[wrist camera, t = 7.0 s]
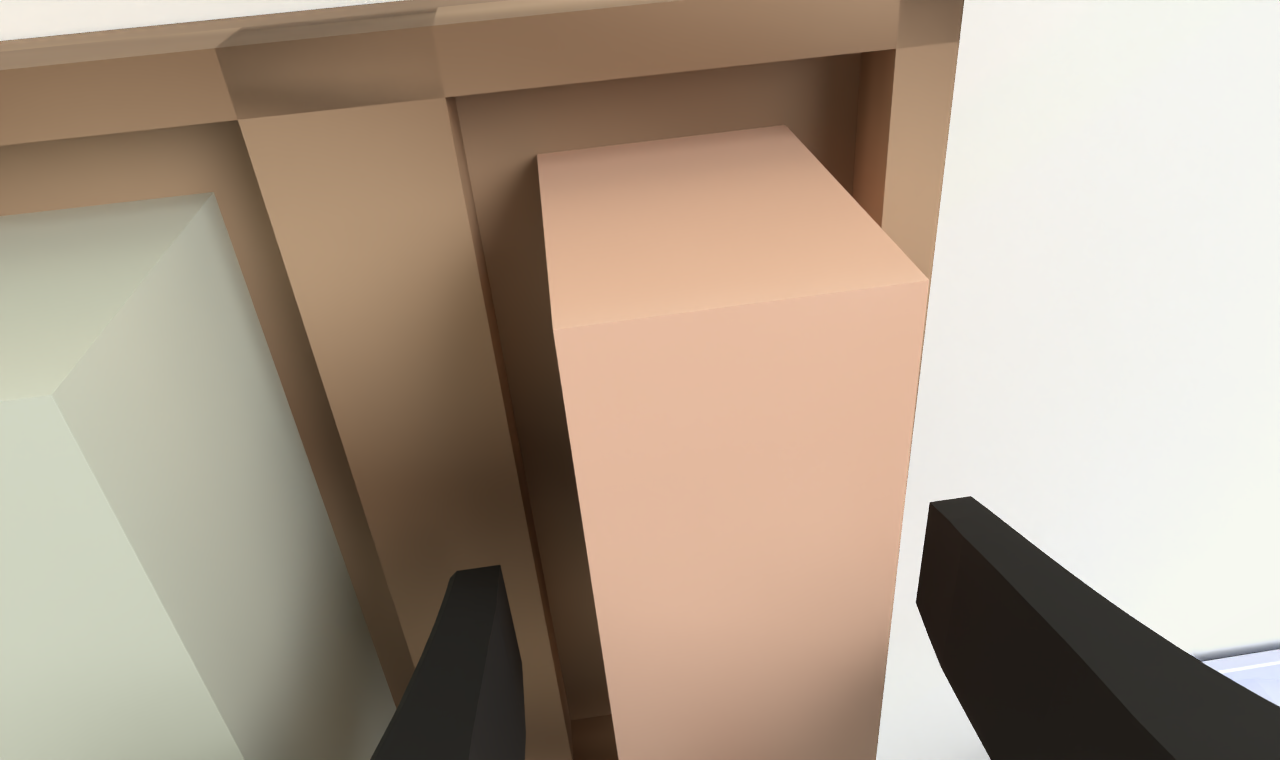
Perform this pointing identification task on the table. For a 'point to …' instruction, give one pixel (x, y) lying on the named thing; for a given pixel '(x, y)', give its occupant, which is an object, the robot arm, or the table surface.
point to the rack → (460, 240)
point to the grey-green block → (162, 509)
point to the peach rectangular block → (734, 438)
